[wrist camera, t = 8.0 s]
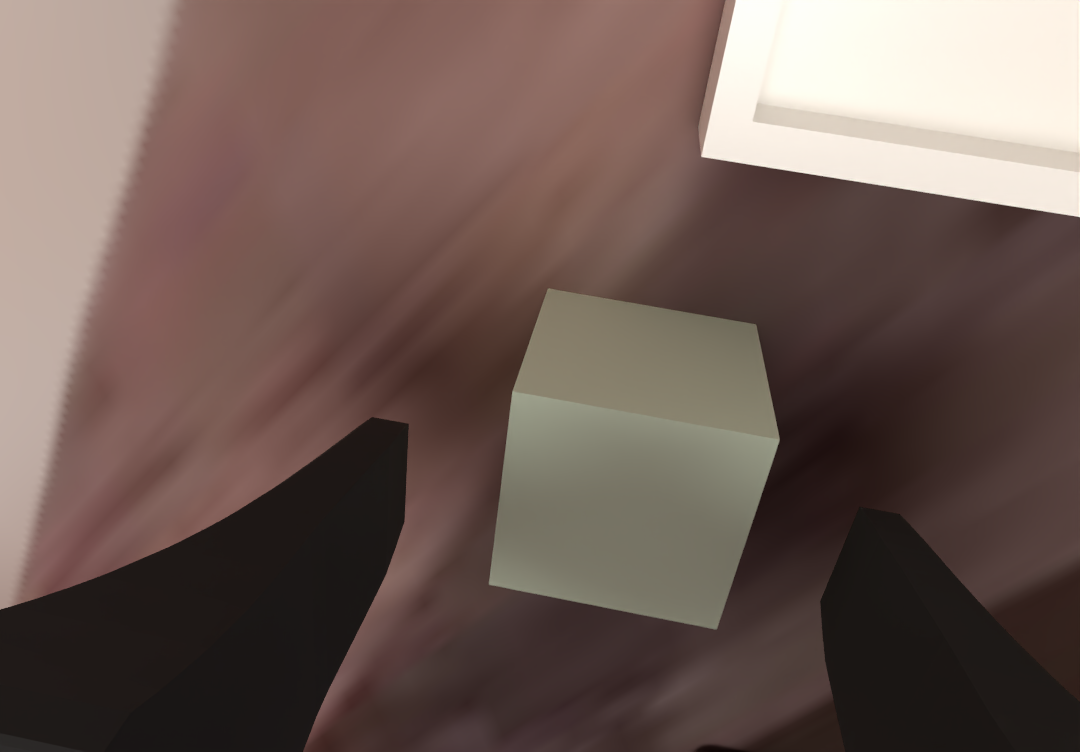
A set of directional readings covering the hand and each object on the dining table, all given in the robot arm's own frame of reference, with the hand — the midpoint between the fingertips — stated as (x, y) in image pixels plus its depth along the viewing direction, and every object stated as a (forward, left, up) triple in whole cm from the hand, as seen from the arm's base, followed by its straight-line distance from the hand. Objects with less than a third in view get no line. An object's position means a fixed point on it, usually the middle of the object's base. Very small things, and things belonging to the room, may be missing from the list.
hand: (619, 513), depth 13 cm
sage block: (0, 0, -4) cm, 4 cm away
